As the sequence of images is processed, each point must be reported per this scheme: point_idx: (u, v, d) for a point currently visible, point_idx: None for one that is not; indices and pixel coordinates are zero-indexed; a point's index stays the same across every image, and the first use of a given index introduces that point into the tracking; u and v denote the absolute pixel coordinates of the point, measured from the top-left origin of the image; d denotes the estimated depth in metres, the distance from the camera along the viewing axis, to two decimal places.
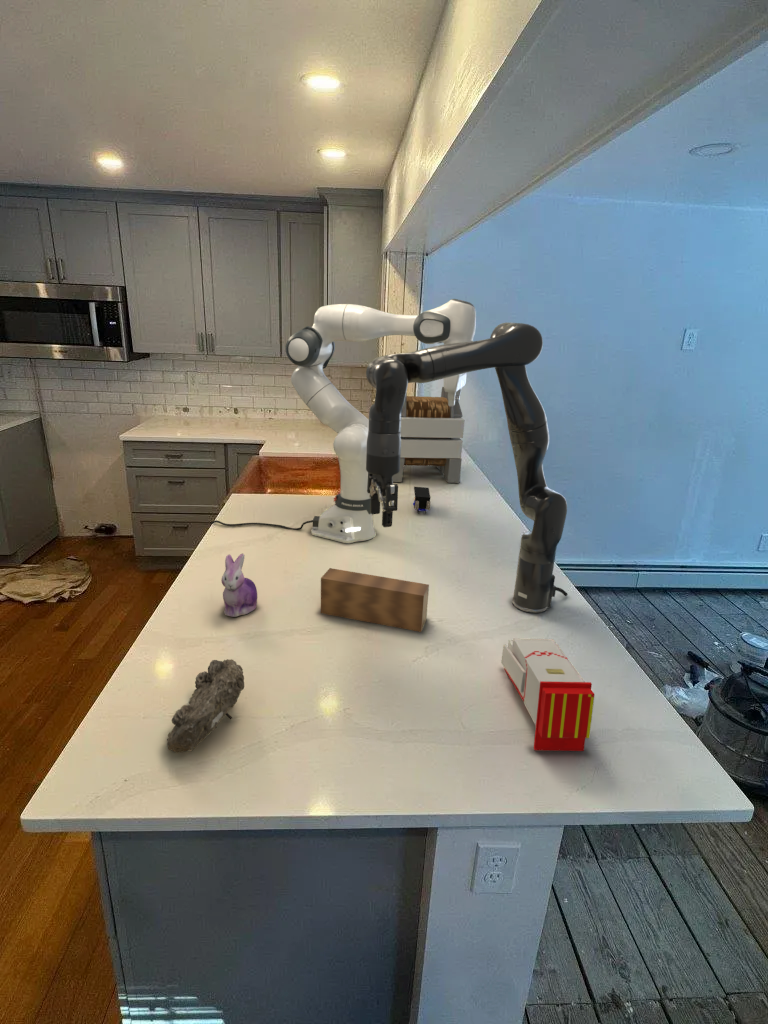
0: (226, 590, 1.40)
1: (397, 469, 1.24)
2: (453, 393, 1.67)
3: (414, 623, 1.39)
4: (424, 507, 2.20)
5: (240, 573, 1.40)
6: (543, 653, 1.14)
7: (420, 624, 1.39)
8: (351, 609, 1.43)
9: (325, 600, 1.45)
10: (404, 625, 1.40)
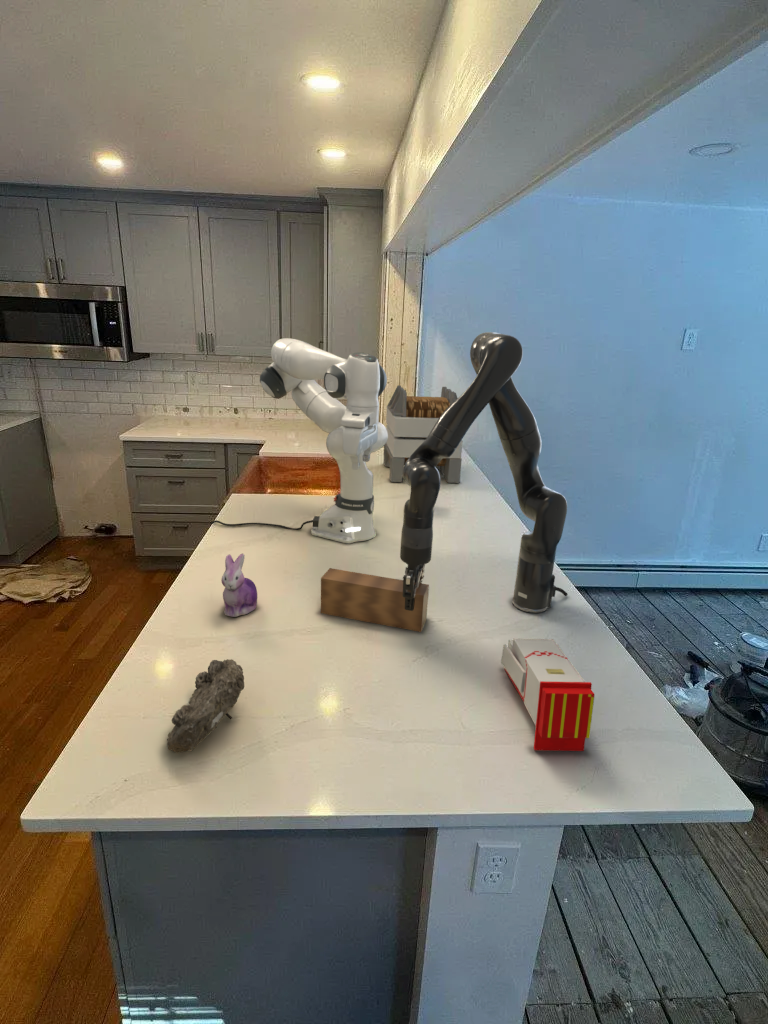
0: (226, 590, 1.40)
1: (422, 561, 1.34)
2: (356, 456, 1.50)
3: (414, 623, 1.39)
4: None
5: (240, 573, 1.40)
6: (543, 653, 1.14)
7: (420, 624, 1.39)
8: (351, 609, 1.43)
9: (325, 601, 1.45)
10: (404, 625, 1.40)
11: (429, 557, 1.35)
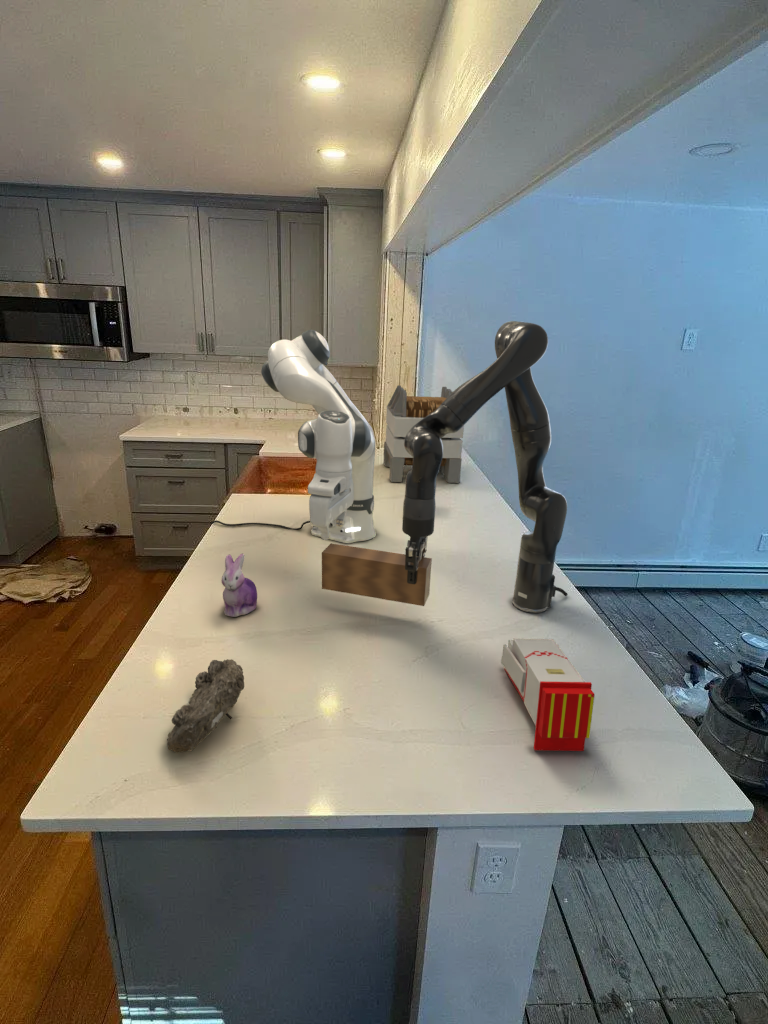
0: (226, 590, 1.40)
1: (425, 532, 1.31)
2: None
3: (417, 597, 1.37)
4: None
5: (240, 573, 1.40)
6: (543, 653, 1.14)
7: (423, 598, 1.37)
8: (353, 584, 1.41)
9: (326, 576, 1.42)
10: (407, 600, 1.38)
11: (432, 529, 1.33)
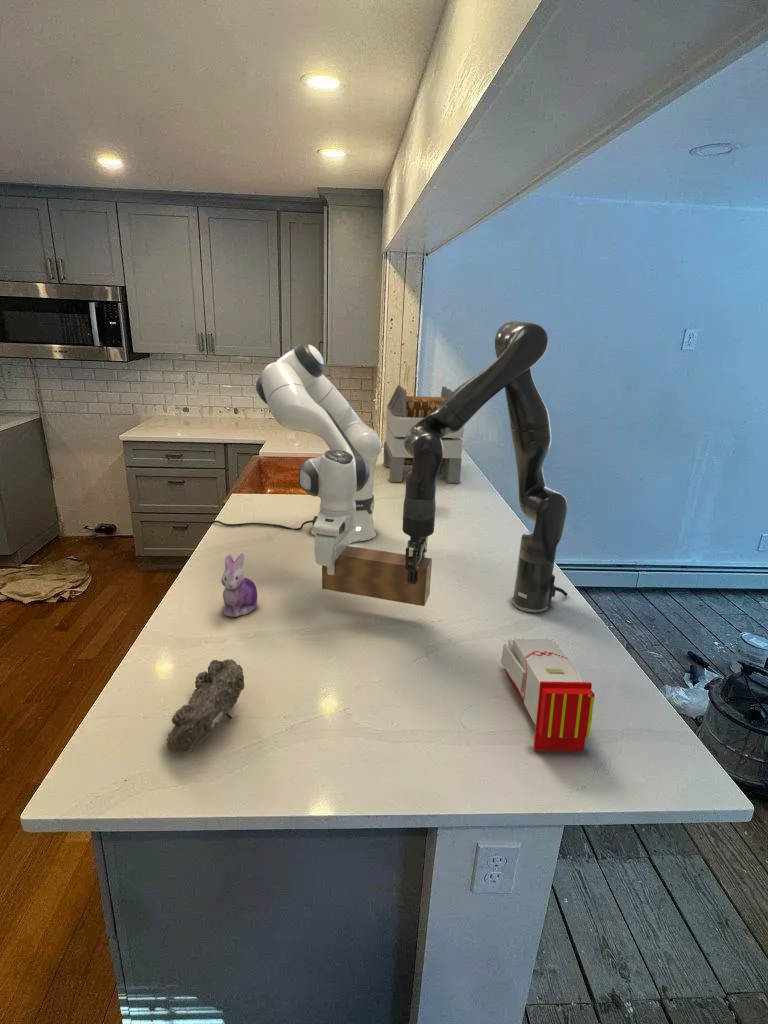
0: (226, 590, 1.40)
1: (425, 532, 1.31)
2: None
3: (417, 597, 1.37)
4: None
5: (240, 573, 1.40)
6: (543, 653, 1.14)
7: (423, 598, 1.37)
8: (353, 584, 1.41)
9: (326, 576, 1.42)
10: (407, 600, 1.38)
11: (432, 529, 1.33)
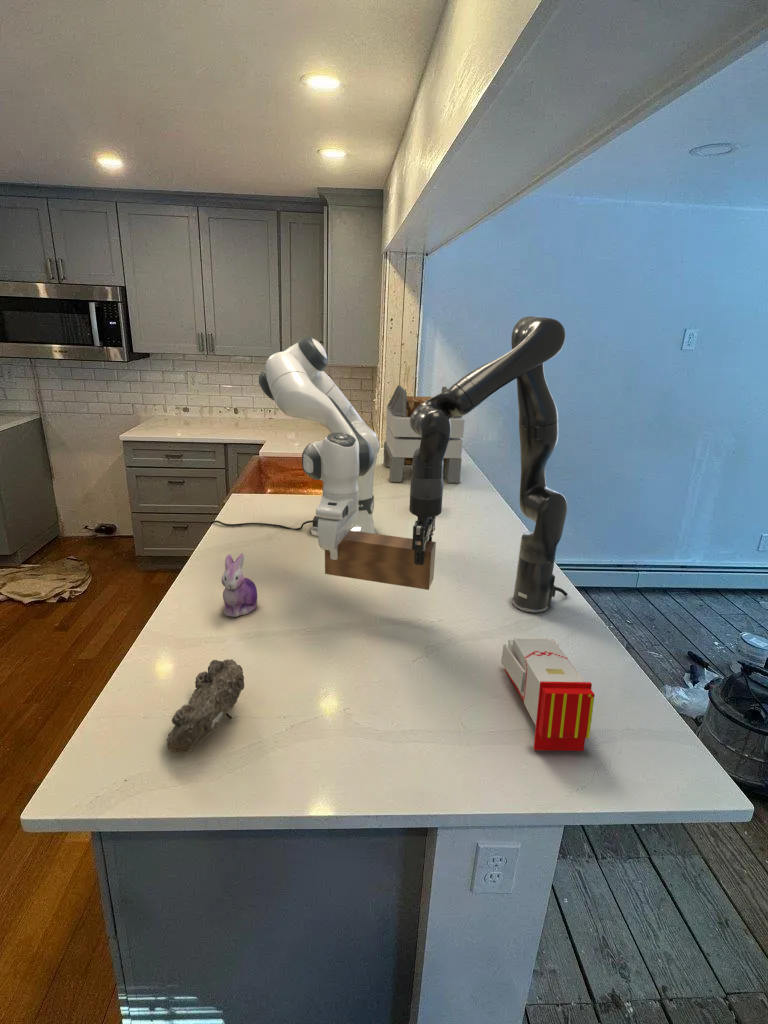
0: (226, 590, 1.40)
1: (433, 512, 1.29)
2: None
3: (421, 580, 1.36)
4: None
5: (240, 573, 1.40)
6: (543, 653, 1.14)
7: (428, 582, 1.36)
8: (357, 568, 1.40)
9: (329, 561, 1.41)
10: (411, 584, 1.37)
11: (439, 509, 1.30)
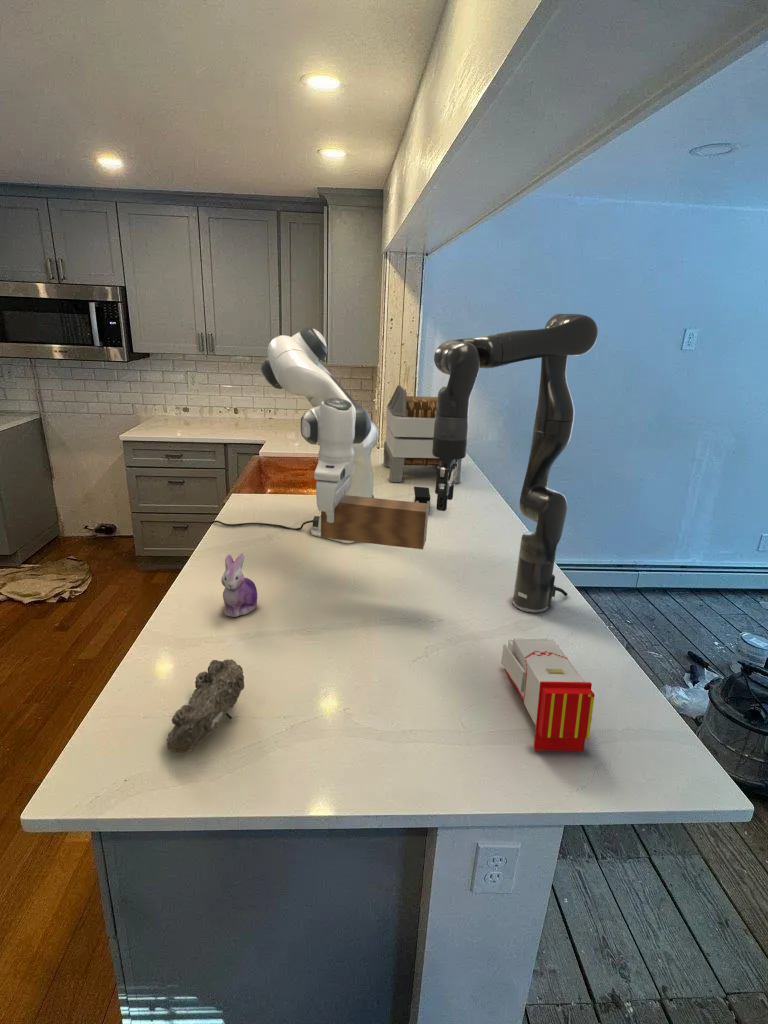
0: (226, 590, 1.40)
1: (457, 454, 1.23)
2: None
3: (416, 540, 1.41)
4: None
5: (240, 573, 1.40)
6: (543, 653, 1.14)
7: (422, 541, 1.41)
8: (352, 531, 1.44)
9: (325, 524, 1.44)
10: (406, 544, 1.42)
11: (464, 452, 1.25)
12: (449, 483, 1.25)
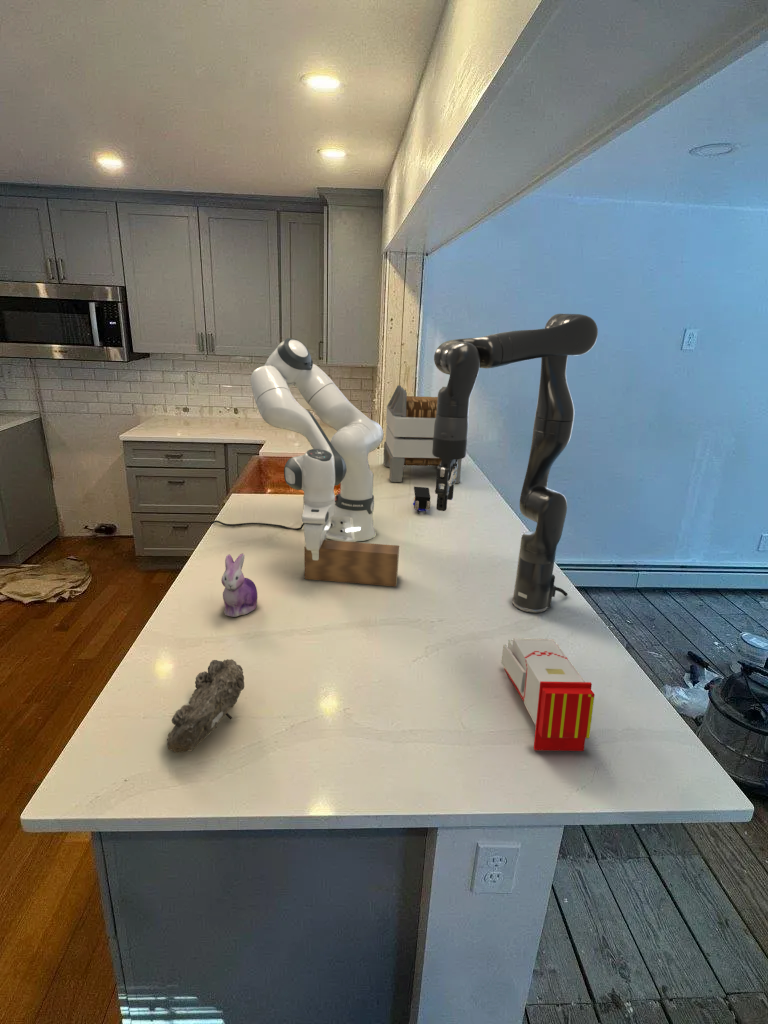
0: (226, 590, 1.40)
1: (457, 454, 1.23)
2: None
3: (389, 579, 1.61)
4: (424, 507, 2.20)
5: (240, 573, 1.40)
6: (543, 653, 1.14)
7: (395, 579, 1.61)
8: (333, 572, 1.62)
9: (308, 567, 1.63)
10: (381, 582, 1.62)
11: (464, 452, 1.25)
12: (449, 483, 1.25)
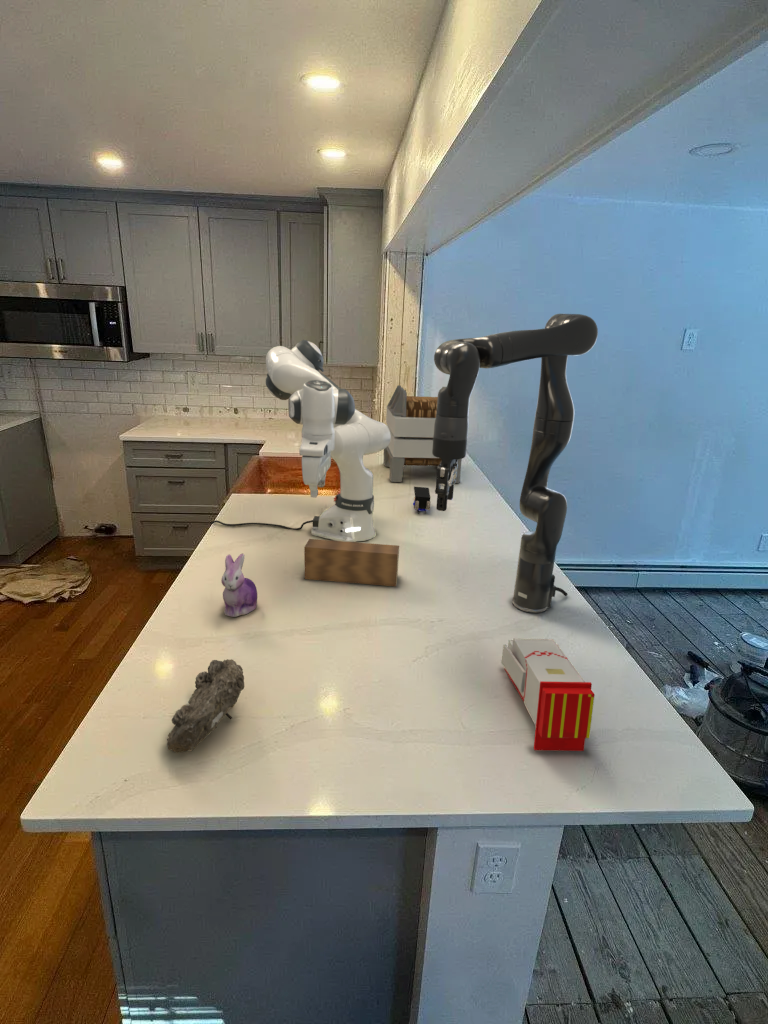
0: (226, 590, 1.40)
1: (457, 454, 1.23)
2: (315, 484, 1.50)
3: (389, 579, 1.61)
4: (424, 507, 2.20)
5: (240, 573, 1.40)
6: (543, 653, 1.14)
7: (395, 579, 1.61)
8: (333, 572, 1.62)
9: (308, 567, 1.63)
10: (381, 582, 1.62)
11: (464, 452, 1.25)
12: (449, 483, 1.25)
